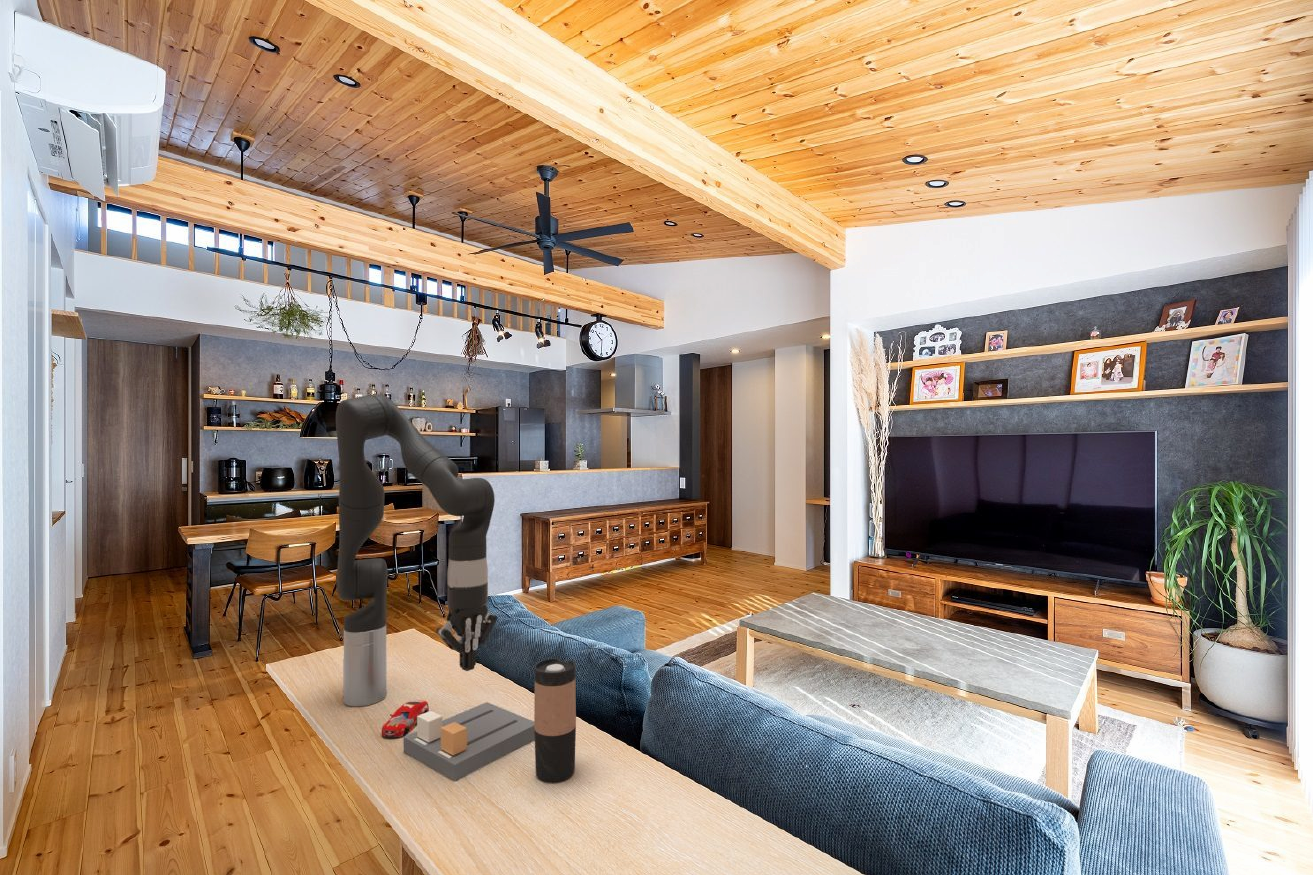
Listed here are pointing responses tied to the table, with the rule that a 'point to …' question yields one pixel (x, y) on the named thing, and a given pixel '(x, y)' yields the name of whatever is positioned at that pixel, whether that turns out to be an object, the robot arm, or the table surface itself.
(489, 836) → the table surface
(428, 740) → the fader
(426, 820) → the table surface
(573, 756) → the travel mug
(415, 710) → the race car
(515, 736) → the console
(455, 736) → the fader
